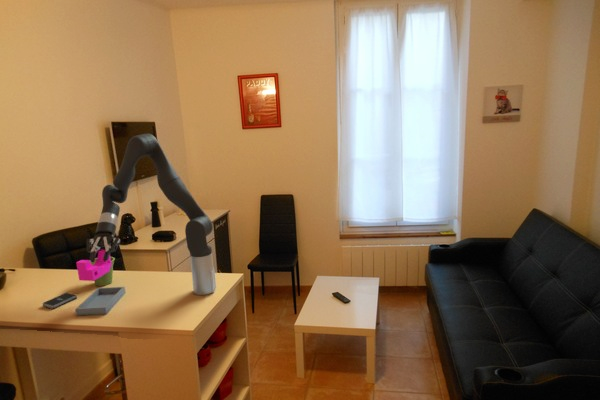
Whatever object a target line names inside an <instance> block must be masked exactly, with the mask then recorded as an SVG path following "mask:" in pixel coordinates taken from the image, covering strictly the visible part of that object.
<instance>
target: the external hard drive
mask: <svg viewBox="0 0 600 400" xmlns="http://www.w3.org/2000/svg"><path fill="white" fill-rule="evenodd" d="M77 299H78V297H77V294H74V293H69V292H64V293H62V294H60V295H58V296H56V297H53V298H51V299H49V300H46V301H44V302H42V307H43V308H45V307H46V308H47V309H51V310H56V309H57V308H60V307H62V306H65V305H66V304H69V303H71V302H73V301H75V300H77Z"/></svg>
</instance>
